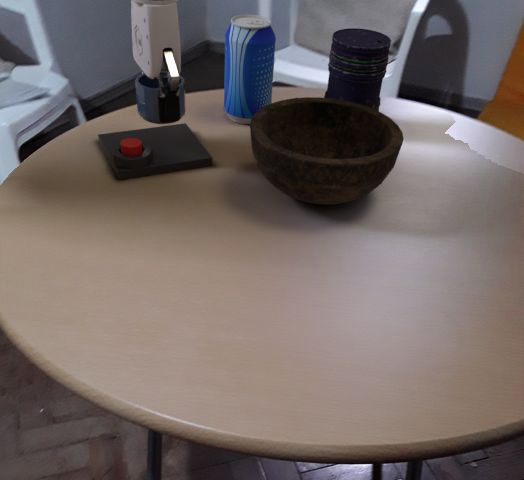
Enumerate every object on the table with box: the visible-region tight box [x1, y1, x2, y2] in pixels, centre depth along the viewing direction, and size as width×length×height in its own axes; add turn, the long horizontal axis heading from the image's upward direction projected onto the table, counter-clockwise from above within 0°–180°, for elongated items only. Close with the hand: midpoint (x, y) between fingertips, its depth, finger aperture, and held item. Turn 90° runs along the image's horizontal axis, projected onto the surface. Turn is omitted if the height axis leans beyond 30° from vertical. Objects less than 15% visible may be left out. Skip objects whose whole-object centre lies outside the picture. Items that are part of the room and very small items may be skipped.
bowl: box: [249, 96, 404, 205], centre depth 92 cm, size 22×22×10 cm
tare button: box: [120, 138, 142, 156], centre depth 95 cm, size 3×3×2 cm
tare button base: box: [97, 123, 213, 181], centre depth 100 cm, size 15×13×3 cm
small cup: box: [134, 70, 187, 125], centre depth 98 cm, size 7×7×6 cm
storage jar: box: [323, 27, 392, 112], centre depth 108 cm, size 10×10×15 cm
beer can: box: [223, 14, 277, 125], centre depth 108 cm, size 8×8×16 cm
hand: (161, 109), depth 99 cm, fingers closed on small cup, 7 cm apart
